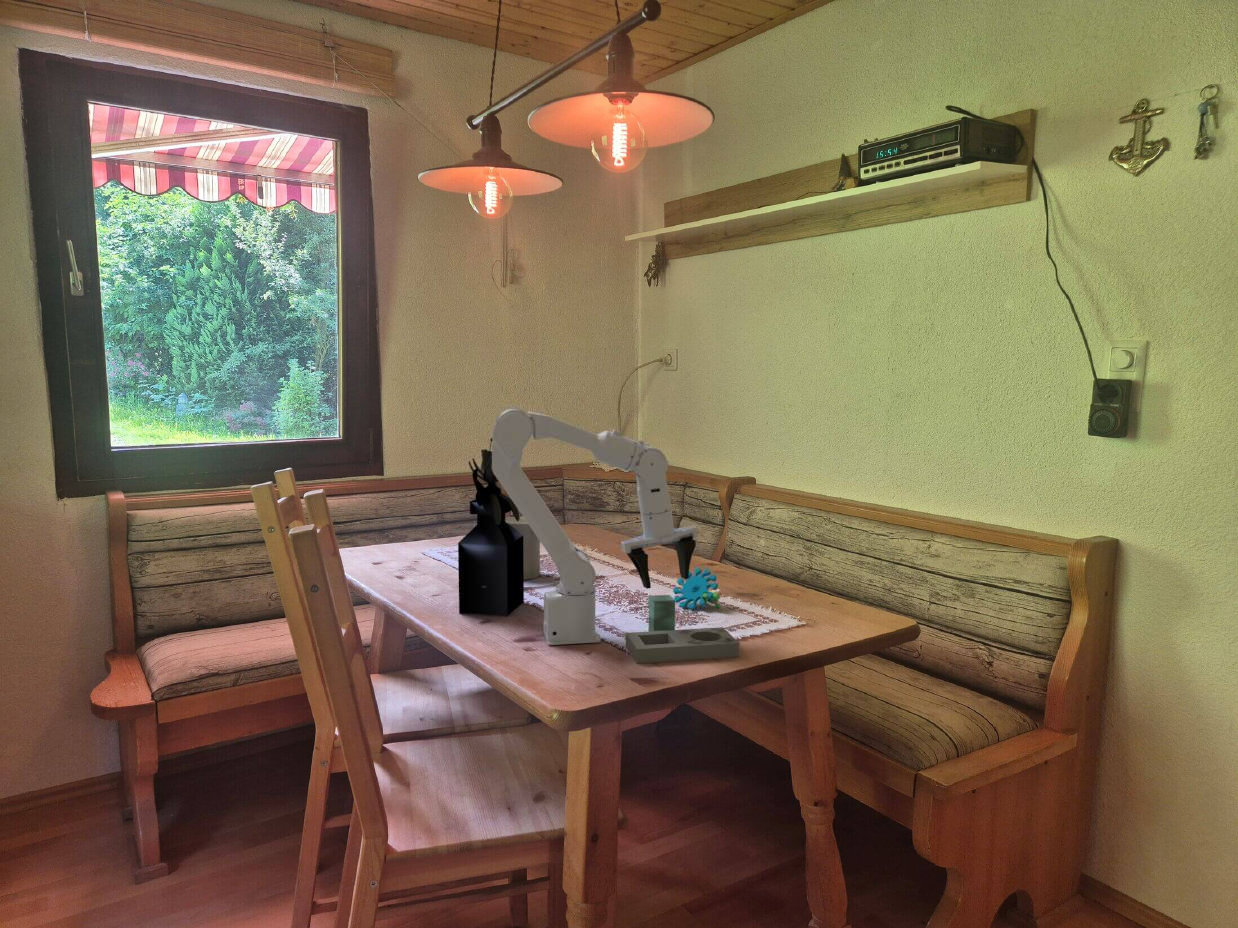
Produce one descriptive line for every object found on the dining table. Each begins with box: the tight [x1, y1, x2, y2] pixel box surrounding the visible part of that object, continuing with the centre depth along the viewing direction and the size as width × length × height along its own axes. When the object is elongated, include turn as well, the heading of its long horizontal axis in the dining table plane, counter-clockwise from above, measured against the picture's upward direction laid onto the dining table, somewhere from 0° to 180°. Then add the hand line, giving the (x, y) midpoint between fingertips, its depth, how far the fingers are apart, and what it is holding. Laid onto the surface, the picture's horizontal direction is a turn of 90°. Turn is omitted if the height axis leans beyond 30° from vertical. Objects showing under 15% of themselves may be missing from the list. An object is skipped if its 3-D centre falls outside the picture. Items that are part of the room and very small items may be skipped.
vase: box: [457, 438, 525, 618], centre depth 168 cm, size 14×12×35 cm
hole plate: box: [625, 626, 740, 665], centre depth 144 cm, size 18×9×2 cm, turn 102°
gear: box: [672, 567, 721, 611], centre depth 174 cm, size 11×6×10 cm
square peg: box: [648, 594, 676, 631], centre depth 154 cm, size 4×4×7 cm
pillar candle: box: [505, 513, 541, 581], centre depth 198 cm, size 10×10×15 cm
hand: (666, 582), depth 153 cm, fingers open, 7 cm apart
